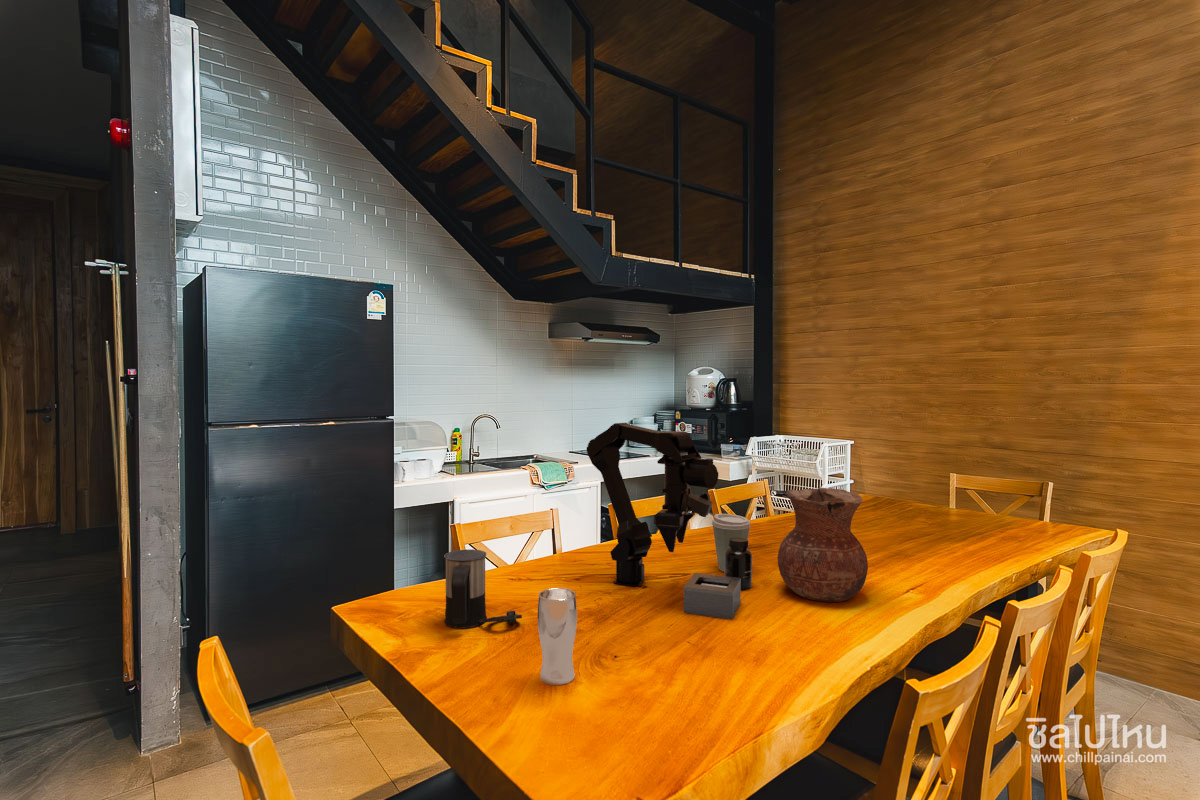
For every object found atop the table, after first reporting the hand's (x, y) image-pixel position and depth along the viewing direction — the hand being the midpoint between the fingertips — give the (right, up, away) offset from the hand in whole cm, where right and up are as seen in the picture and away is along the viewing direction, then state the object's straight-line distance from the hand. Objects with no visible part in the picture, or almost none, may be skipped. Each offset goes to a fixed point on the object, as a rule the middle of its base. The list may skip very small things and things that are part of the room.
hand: (676, 547), depth 155 cm
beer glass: (-26, -14, -42) cm, 51 cm away
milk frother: (-44, -13, -17) cm, 49 cm away
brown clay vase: (+36, -12, +2) cm, 38 cm away
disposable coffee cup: (+18, -12, +21) cm, 30 cm away
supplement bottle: (+17, -12, +8) cm, 22 cm away
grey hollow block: (+8, -12, -8) cm, 16 cm away
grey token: (+8, -9, -8) cm, 14 cm away
